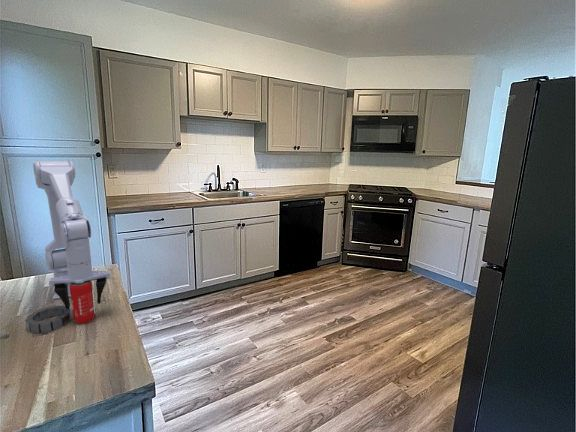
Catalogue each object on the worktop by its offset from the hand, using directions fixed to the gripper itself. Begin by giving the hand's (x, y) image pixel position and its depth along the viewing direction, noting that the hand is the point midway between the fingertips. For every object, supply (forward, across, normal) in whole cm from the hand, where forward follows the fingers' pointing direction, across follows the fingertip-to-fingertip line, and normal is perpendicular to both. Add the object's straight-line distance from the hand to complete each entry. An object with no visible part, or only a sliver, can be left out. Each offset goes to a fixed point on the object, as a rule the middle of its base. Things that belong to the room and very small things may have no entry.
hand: (83, 304), depth 92 cm
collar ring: (+4, -8, 0) cm, 9 cm away
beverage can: (+4, 0, -2) cm, 4 cm away
